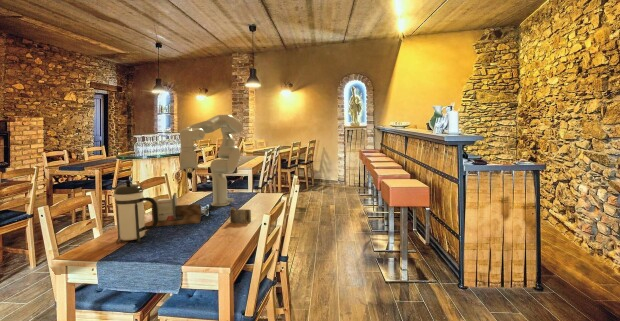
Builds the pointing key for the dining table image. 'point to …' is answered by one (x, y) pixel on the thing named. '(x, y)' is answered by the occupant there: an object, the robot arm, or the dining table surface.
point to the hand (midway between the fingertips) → (190, 179)
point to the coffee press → (132, 212)
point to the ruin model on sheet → (240, 215)
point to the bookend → (175, 214)
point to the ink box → (165, 209)
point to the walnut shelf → (190, 212)
